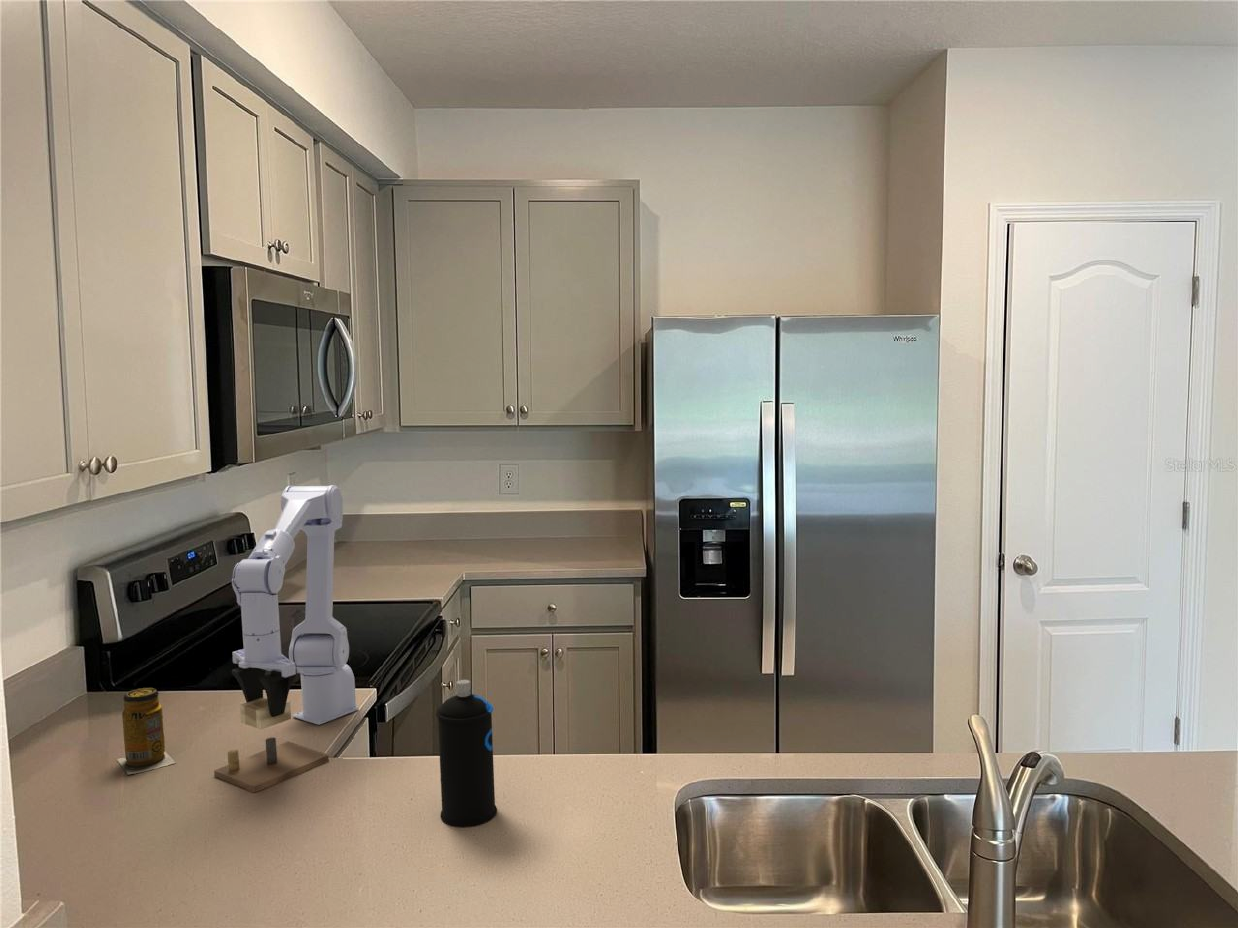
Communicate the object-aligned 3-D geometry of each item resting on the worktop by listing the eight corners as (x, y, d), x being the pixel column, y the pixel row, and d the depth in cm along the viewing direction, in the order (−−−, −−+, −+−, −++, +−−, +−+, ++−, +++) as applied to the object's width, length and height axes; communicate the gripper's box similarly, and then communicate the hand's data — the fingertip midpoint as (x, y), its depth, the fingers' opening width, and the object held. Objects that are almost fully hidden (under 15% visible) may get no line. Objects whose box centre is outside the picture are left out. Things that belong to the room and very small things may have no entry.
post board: (288, 746, 164) (286, 719, 163) (328, 760, 158) (327, 732, 157) (214, 776, 153) (212, 746, 152) (254, 792, 146) (252, 761, 146)
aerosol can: (450, 832, 132) (444, 695, 130) (433, 809, 139) (427, 678, 137) (505, 818, 136) (500, 684, 134) (486, 796, 143) (481, 669, 141)
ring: (270, 712, 159) (270, 694, 159) (291, 718, 156) (290, 701, 155) (241, 722, 154) (240, 704, 154) (261, 729, 151) (260, 711, 151)
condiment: (162, 748, 165) (157, 682, 163) (175, 763, 158) (170, 694, 157) (116, 760, 160) (111, 692, 159) (128, 776, 154) (122, 705, 152)
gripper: (213, 630, 155) (219, 710, 156) (266, 643, 146) (271, 727, 148) (252, 620, 160) (256, 697, 162) (304, 632, 152) (309, 713, 153)
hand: (266, 711), depth 155 cm, fingers closed on ring, 6 cm apart
